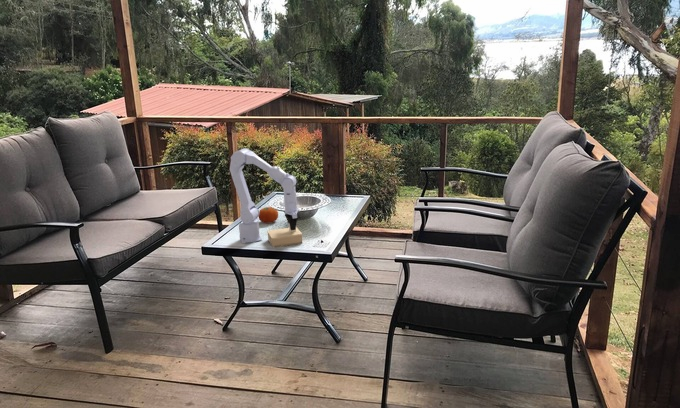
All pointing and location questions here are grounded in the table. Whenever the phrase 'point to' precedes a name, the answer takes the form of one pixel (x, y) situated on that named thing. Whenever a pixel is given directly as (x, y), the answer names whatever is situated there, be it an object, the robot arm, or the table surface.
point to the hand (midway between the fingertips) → (292, 229)
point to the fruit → (268, 215)
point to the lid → (283, 233)
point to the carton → (285, 241)
